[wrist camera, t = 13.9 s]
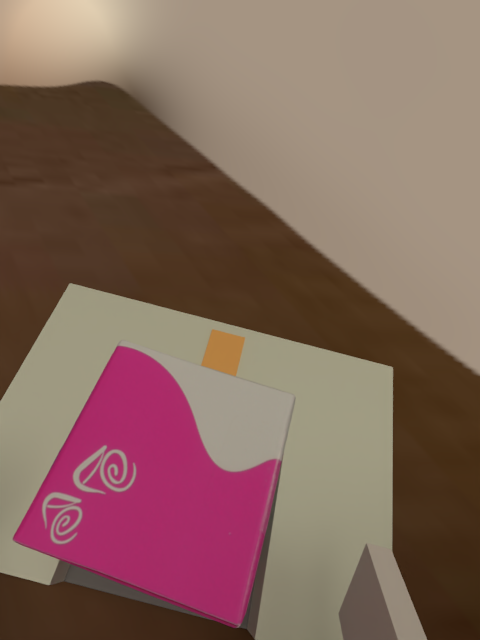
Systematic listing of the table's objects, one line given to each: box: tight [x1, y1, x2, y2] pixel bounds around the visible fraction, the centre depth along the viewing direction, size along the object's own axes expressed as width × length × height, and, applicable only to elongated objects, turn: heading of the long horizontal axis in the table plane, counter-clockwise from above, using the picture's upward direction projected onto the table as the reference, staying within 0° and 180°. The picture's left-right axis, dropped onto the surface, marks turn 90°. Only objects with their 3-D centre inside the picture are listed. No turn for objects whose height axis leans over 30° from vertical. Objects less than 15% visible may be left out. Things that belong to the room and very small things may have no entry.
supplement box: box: [13, 340, 296, 628], centre depth 15 cm, size 6×6×11 cm
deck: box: [0, 283, 393, 640], centre depth 20 cm, size 14×20×3 cm
